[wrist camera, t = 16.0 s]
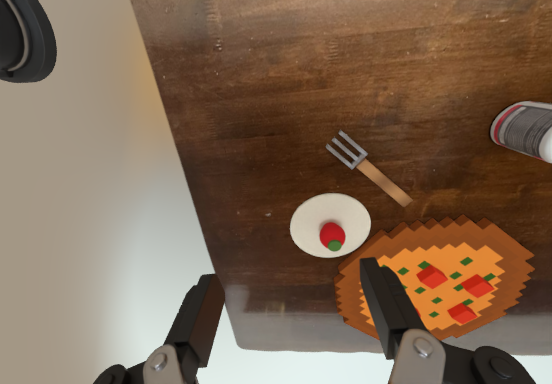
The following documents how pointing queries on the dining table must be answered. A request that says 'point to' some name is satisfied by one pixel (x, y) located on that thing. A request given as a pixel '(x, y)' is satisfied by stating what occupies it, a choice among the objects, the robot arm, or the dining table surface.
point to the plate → (326, 210)
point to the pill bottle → (525, 129)
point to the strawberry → (332, 236)
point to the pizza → (440, 274)
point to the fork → (369, 170)
